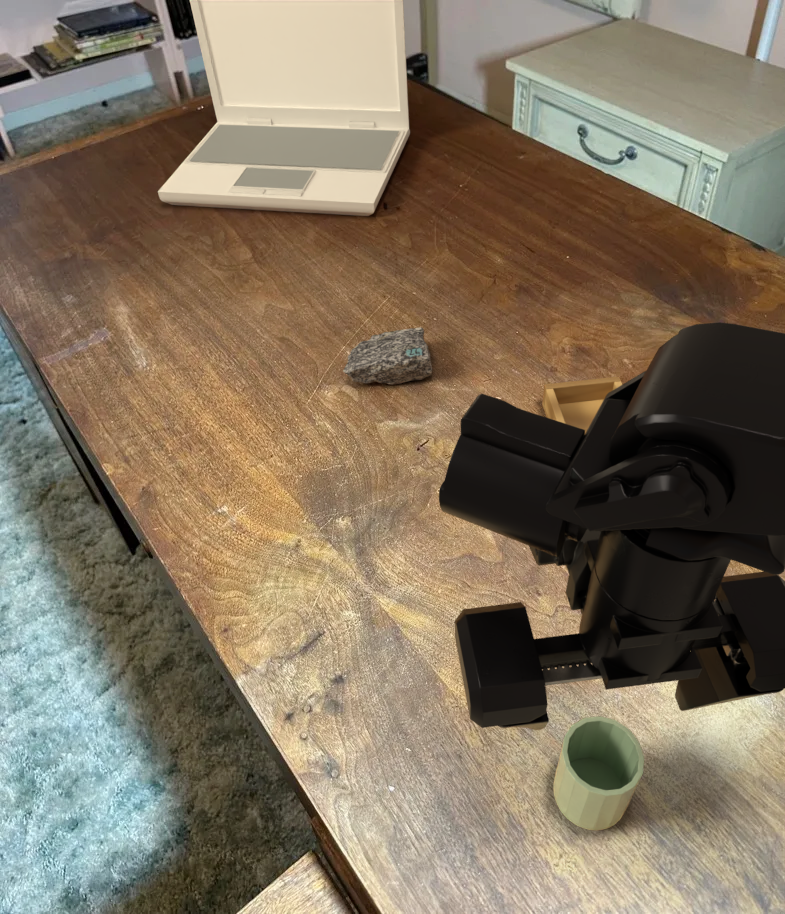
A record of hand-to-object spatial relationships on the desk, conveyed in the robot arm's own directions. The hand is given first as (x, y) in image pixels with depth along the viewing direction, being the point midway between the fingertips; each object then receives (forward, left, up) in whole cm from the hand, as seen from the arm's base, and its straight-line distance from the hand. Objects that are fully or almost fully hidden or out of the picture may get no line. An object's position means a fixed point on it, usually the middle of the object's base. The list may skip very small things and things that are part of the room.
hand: (608, 712), depth 48 cm
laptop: (+102, +22, -12) cm, 105 cm away
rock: (+49, +10, -12) cm, 52 cm away
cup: (-1, 0, -12) cm, 12 cm away
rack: (+29, -10, -12) cm, 33 cm away
